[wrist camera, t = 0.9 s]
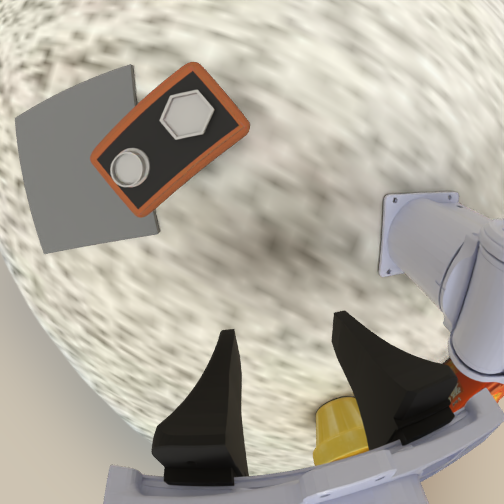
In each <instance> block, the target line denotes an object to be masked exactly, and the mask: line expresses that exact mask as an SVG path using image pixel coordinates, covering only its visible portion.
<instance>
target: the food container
mask: <svg viewBox="0 0 504 504" xmlns="http://www.w3.org/2000/svg"><path fill="white" fill-rule="evenodd" d="M444 365H449V367H450V368H451V369H452V370H453V372H454V373H455V375H456V376H457V378H458V381H457V385H456V387H455V388H454V390H453V392H452V393H451V395H450V396H449V398H448V399H449V400H450V402H451V404H450V406H449V407H450V408H451V410H452V412H453V413H454V412H456V411H457V410H459V409H461V408H463V407H464V406H465V404H466V403H467V401H468V400H469V399H470V398H471V397H472V396H474V395H475V394H477V393H478V392H480V391H481V390H483V389H484V388H487V389H488V391H489V392H490V394H491V395H492V396H493V398H494V399H495V401H496V402H497V404H498V401H499V400H500V399H501V398H502V397H503V396H504V384H502V383H498V382H481V381H476V380H474V379H471V378H469V377H467V376H466V375H464V374H463V373H462V372H461V371H460V370H459V369H458V368H457V367H456V366H455V365H454V363H453V362H452V360H451V358H449V359H448V360H447V361H446V362H445V363H444Z"/></svg>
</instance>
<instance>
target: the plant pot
mask: <svg viewBox="0 0 504 504" xmlns="http://www.w3.org/2000/svg"><path fill="white" fill-rule="evenodd" d="M367 451H369V448H368V443H367V438H366V434H365V430H364V426H363V422H362V418H361V415H360V411H359V408H358V405H357V402H356V399H355V398H353V397H342V398H338V399H335V400H332V401H330V402H328V403H326V404H324V405H323V406H322V407H320V408H319V410H318V411H317V413H316V448H315V449H314V451H313V459H314V464H315V466H317V465H322V464H326V463H330V462H334V461H337V460H341V459H345V458H348V457H351V456H355V455H358V454H361V453H364V452H367Z"/></svg>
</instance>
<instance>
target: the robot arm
mask: <svg viewBox="0 0 504 504" xmlns="http://www.w3.org/2000/svg"><path fill="white" fill-rule="evenodd" d="M448 196H449V198H448ZM394 198H395V201H394V202H393V199H394ZM458 202H459V194H458V193H457V192H424V193H403V194H388V195H386V196H385V197H384V208H383V228H382V242H381V253H380V263H379V275H380V276H381V277H386V276H391V275H396V274H402V273H405V274H406V275H407V276H408V277H409V278H410V279H411V280H412V281H413V282H414V283H415V284H416V285H417V286H418V287H419V288H420V289H421V290H422V291H423V292H424V293H425V294H426V295H427V296H428V297H429V298H430V299H431V301H432V302H433V303H434V304H435V305H436V306H437V307H438V308H439V309H440V310H441V311H442V312H443V314H444V322H443V324H444V326H445V327H446V328H447V329H448V330H449V332H450V333H451V335H450V337H449V340H448V352H449V355H450V358H451V360H452V362H453V363H454V365H455V366H456V367H457V368H458V369H459V370H460V371H461V372H462V373H463V374H464V375H466V376H467V377H469V378H471V379H474V380H476V381H481V382H498V383H502V384H504V219H493V220H492V219H490V218H488V217H486V216H484V215H482V214H481V213H479V212H477V211H475V210H473V209H471V208H468V207H466V206H464V205H462V204H460V203H458ZM387 270H389V271H388V272H387ZM332 344H333V347H334V350H335V353H336V356H337V359H338V361H339V363H340V365H341V367H342V369H343V371H344V373H345V375H346V377H347V380H348V382H349V384H350V386H351V388H352V390H353V393H354V395H355V399H356V402H357V405H358V408H359V411H360V415H361V418H362V422H363V426H364V430H365V434H366V438H367V443H368V448H369V451H367V452H364V453H361V454H358V455H355V456H351V457H348V458H345V459H341V460H337V461H334V462H330V463H326V464H322V465H317V466H313V467H308V468H303V469H298V470H293V471H287V472H280V473H273V474H266V475H257V476H249V474H248V467H247V460H246V452H245V444H244V435H243V426H242V416H241V389H242V372H241V362H240V355H239V350H238V345H237V340H236V336H235V331H234V329H229V330H222V331H221V332H220V336H219V339H218V342H217V345H216V347H215V350H214V352H213V354H212V357H211V359H210V361H209V363H208V365H207V367H206V369H205V371H204V373H203V374H202V376H201V378H200V379H199V381H198V382H197V384H196V385H195V387H194V388H193V390H192V391H191V392H190V394H189V395H188V396H187V397H186V399H185V400H184V401H183V402H182V403H181V404H180V405H179V406H178V407H177V408H176V410H175V411H174V412H173V413H172V414H171V415H169V416H168V417H167V418H166V419H165V420H164V421H162V422H161V423H160V424H159V425H158V426H157V428H156V431H155V434H154V438H153V444H152V455H153V456H154V457H155V458H156V459H157V460H158V461H159V462H160V463H161V464H162V465H163V466H164V467H165V469H164V477H162V476H152V475H143V474H141V473H140V472H139V471H138V470H136V469H133V468H130V467H123V466H117V465H110V468H109V473H108V478H107V484H106V490H105V496H104V503H103V504H429V503H428V500H427V497H426V495H425V492H424V490H423V487H422V485H421V482H422V481H424V480H425V479H427V478H429V477H431V476H432V475H434V474H436V473H438V472H439V471H441V470H443V469H444V468H446V467H447V466H449V465H450V464H452V463H454V462H455V461H457V460H458V459H459V458H461V457H462V456H464V455H465V454H467V453H468V452H470V451H471V450H472V449H474V448H475V447H477V446H478V445H479V444H481V443H482V442H483V441H485V440H486V438H488V437H489V436H490V435H491V434H492V433H493V432H494V430H495V429H496V428H498V426H499V425H500V424H501V423H502V422H503V421H504V413H503V411H502V410H501V408H500V407H499V405H498V404H497V402H496V401H495V399H494V398H493V396H492V395H491V394H490V392H489V391H488V389H487V388H484V389H483V390H481V391H480V392H478V393H477V394H475V395H474V396H472V397H471V398H470V399H469V400H468V401H467V403H466V404H465V406H464V407H463V408H461V409H459V410H457V411H456V412H454V413H453V412H452V410H451V408H450V407H449V406H450V404H451V402H450V400H449V399H448V398H449V396H450V395H451V393H452V392H453V390H454V388H455V387H456V385H457V381H458V378H457V376H456V375H455V373H454V372H453V370H452V369H451V368H450V367H449V365H444V364H440V363H435V362H431V361H428V360H425V359H422V358H419V357H416V356H414V355H411V354H409V353H407V352H405V351H402V350H400V349H399V348H397V347H395V346H393V345H391V344H389V343H388V342H386V341H385V340H383V339H381V338H380V337H378V336H377V335H376V334H374V333H373V332H371V331H370V330H369V329H367V328H366V327H365V326H363V325H362V324H361V323H360V322H358V321H357V320H356V319H355V318H353V317H352V316H351V315H350V314H349V313H347V312H346V311H340V312H335V313H334V319H333V331H332Z"/></svg>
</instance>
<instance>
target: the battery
mask: <svg viewBox="0 0 504 504" xmlns="http://www.w3.org/2000/svg"><path fill="white" fill-rule="evenodd" d="M249 129H250V123H249V121H248V120H247V119H246V117H245V116H244V115H243V114H242V112H241V111H240V110H239V109H238V107H237V106H236V105H235V104H234V102H233V101H232V100H231V99H230V98H229V96H228V95H227V94H226V93H225V92H224V91H223V89H222V88H221V87H220V86H219V85H218V84H217V82H216V81H215V80H214V79H213V78H212V77H211V75H210V74H209V73H208V72H207V71H206V70H205V69H204V68H203V67H202V66H201V65H200V64H199V63H197V62H190V63H187V64H186V65H184V66H183V67H181V68H180V69H179V70H177V71H176V72H175V73H173V74H172V75H171V76H170V77H168V78H167V79H166V80H165V81H163V82H162V83H161V84H160V85H159V86H157V87H156V88H155V89H154V90H153V91H152V92H151V93H149V94H148V95H147V96H146V97H145V98H144V99H143V100H142V101H140V102H139V103H138V104H137V105H136V106H135V107H134V108H133V109H132V110H131V111H130V112H129V113H128V114H127V115H126V116H125V117H124V118H123V119H122V120H121V121H120V122H119V123H118V124H117V125H116V126H115V127H114V128H113V129H112V130H111V131H110V132H109V133H108V134H107V135H106V136H105V137H104V138H103V140H102V141H101V142H100V143H99V144H98V145H97V146H96V147H95V149H94V150H93V151H92V153H91V156H90V161H91V163H92V164H93V166H94V167H95V168H96V169H97V171H98V172H99V173H100V174H101V176H102V177H103V178H104V179H105V181H106V182H107V183H108V184H109V185H110V187H111V188H112V189H113V190H114V191H115V193H116V194H117V195H118V196H119V197H120V199H121V200H122V201H123V202H124V203H125V204H126V206H127V207H128V208H129V209H130V210H131V211H132V212H133V214H134V215H135V216H136V217H139V218H142V217H145V216H147V215H149V214H150V213H151V212H152V211H154V210H155V209H156V208H157V207H158V206H159V205H160V204H161V203H163V202H164V201H165V200H166V199H167V198H168V197H169V196H171V195H172V194H173V193H174V192H175V191H176V190H177V189H179V188H180V187H181V186H182V185H183V184H185V183H186V182H187V181H188V180H189V179H191V178H192V177H193V176H194V175H195V174H197V173H198V172H199V171H200V170H202V169H203V168H204V167H205V166H207V165H208V164H209V163H210V162H212V161H213V160H214V159H215V158H217V157H218V156H219V155H221V154H222V153H223V152H225V151H226V150H227V149H229V148H230V147H231V146H233V145H234V144H235V143H237V142H238V141H239V140H241V139H242V138H243V137H244V136H246V135H247V133H248V132H249Z"/></svg>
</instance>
